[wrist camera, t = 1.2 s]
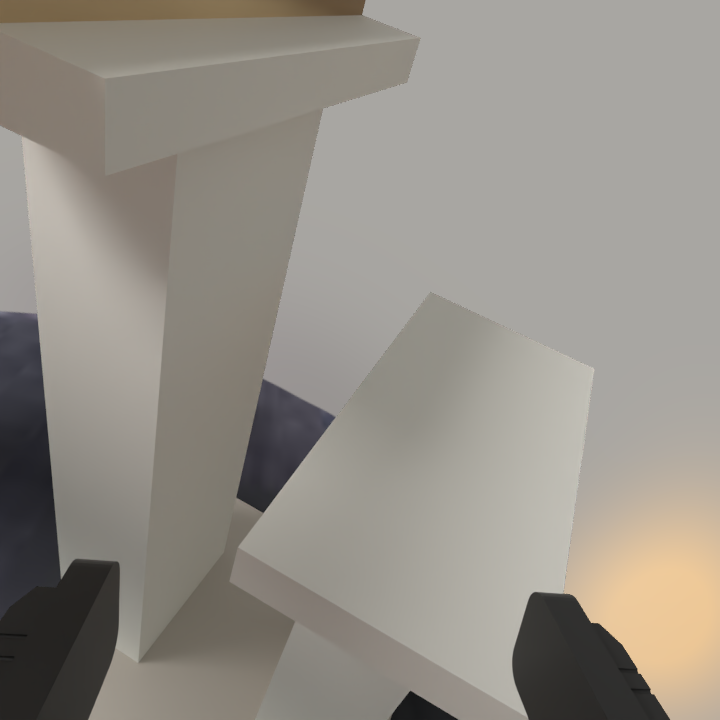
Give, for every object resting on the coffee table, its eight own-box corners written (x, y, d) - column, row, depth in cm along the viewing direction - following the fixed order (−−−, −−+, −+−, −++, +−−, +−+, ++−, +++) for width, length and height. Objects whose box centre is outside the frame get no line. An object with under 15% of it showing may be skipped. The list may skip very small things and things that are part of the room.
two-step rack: (-20, 676, 29) (-255, -82, 10) (179, 476, 42) (240, -32, 23) (317, 910, 26) (906, 436, 7) (423, 617, 39) (737, 160, 19)
